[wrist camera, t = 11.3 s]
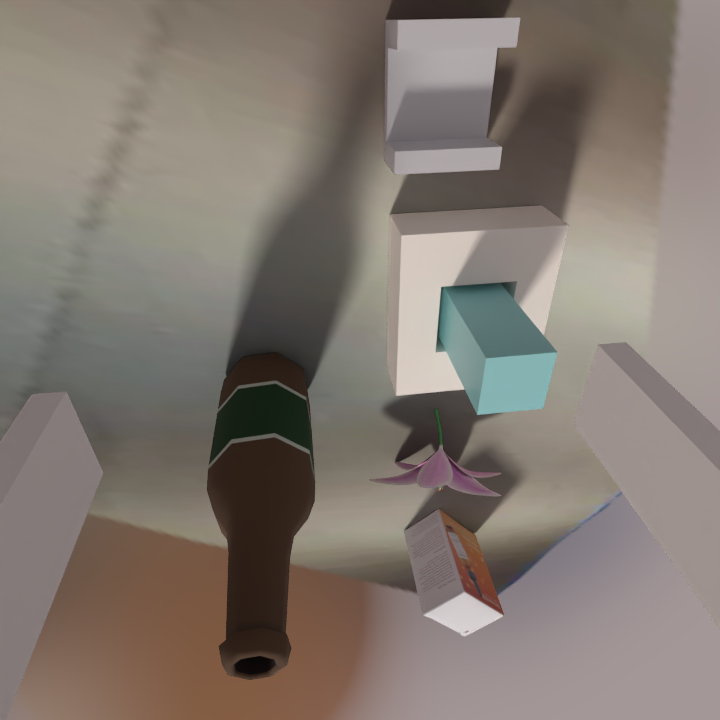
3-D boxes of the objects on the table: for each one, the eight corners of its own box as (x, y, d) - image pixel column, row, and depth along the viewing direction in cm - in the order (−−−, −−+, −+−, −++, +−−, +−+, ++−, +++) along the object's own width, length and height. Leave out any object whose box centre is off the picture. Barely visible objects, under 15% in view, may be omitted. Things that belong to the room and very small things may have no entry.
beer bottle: (319, 357, 44) (349, 630, 24) (298, 422, 48) (309, 702, 28) (231, 340, 42) (185, 624, 22) (216, 409, 46) (166, 703, 26)
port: (389, 214, 37) (402, 236, 34) (541, 205, 38) (570, 226, 35) (386, 365, 45) (396, 397, 41) (512, 354, 46) (533, 384, 43)
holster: (385, 19, 30) (398, 20, 27) (495, 17, 31) (520, 17, 28) (383, 160, 35) (394, 174, 32) (479, 155, 36) (499, 169, 32)
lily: (348, 427, 51) (361, 524, 47) (430, 384, 43) (455, 496, 39) (428, 436, 58) (446, 520, 54) (511, 400, 50) (538, 496, 46)
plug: (435, 274, 40) (486, 358, 30) (490, 270, 40) (557, 352, 30) (432, 322, 42) (477, 414, 32) (483, 318, 43) (542, 408, 33)
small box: (475, 533, 62) (506, 616, 53) (440, 555, 64) (464, 638, 55) (438, 506, 58) (465, 591, 49) (402, 530, 60) (422, 616, 51)
